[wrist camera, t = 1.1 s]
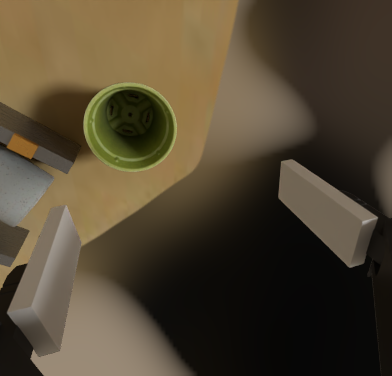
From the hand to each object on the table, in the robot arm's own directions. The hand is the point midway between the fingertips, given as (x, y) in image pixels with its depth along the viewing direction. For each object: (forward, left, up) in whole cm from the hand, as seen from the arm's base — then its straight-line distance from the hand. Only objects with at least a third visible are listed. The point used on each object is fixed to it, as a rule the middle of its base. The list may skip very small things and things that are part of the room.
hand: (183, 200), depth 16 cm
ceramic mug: (-11, -17, -23) cm, 31 cm away
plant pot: (-2, -1, -23) cm, 23 cm away
